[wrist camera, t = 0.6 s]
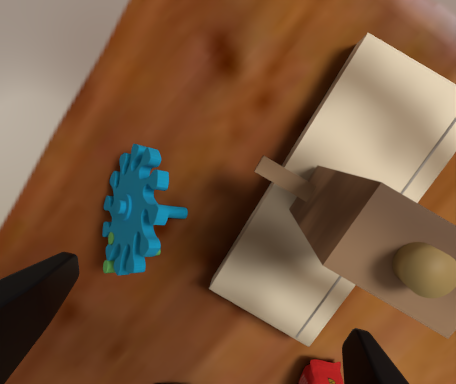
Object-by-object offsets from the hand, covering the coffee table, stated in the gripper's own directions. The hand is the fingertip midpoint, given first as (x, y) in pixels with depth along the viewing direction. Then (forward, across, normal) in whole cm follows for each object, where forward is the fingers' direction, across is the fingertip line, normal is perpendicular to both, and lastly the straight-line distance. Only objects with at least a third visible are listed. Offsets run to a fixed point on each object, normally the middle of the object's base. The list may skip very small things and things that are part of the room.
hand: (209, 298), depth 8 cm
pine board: (+15, -8, +3) cm, 17 cm away
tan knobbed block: (+13, -6, +2) cm, 14 cm away
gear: (+14, +8, +7) cm, 17 cm away
